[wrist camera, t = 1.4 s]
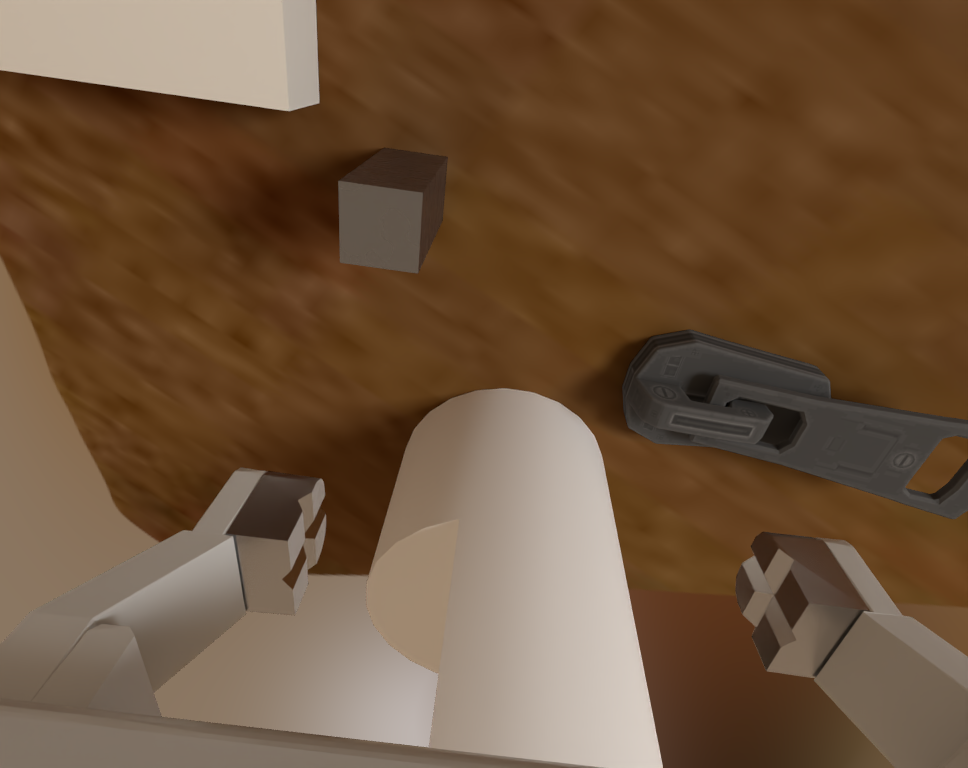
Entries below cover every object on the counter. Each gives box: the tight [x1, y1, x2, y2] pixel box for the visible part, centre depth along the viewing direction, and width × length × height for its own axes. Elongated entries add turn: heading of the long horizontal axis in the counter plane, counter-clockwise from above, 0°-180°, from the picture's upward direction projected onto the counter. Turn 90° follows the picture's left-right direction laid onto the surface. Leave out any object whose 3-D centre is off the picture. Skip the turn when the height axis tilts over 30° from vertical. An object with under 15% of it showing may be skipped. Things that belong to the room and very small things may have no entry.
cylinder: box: [366, 388, 663, 768], centre depth 35 cm, size 17×17×28 cm
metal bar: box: [338, 148, 448, 273], centre depth 31 cm, size 4×4×10 cm
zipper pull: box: [622, 330, 968, 519], centre depth 39 cm, size 9×7×25 cm
